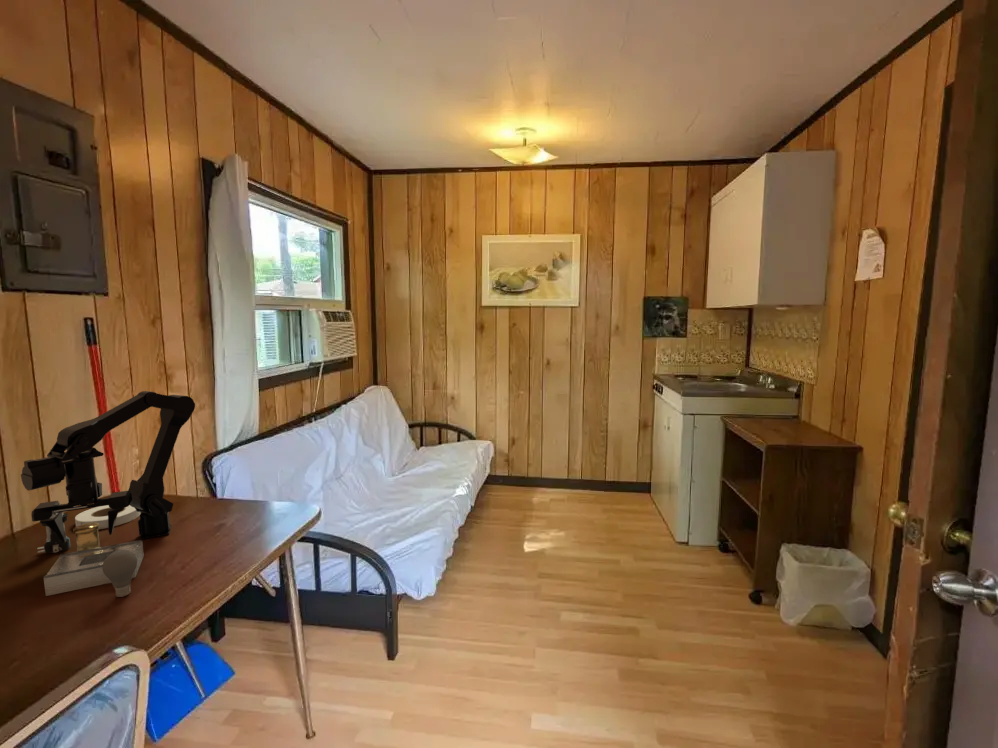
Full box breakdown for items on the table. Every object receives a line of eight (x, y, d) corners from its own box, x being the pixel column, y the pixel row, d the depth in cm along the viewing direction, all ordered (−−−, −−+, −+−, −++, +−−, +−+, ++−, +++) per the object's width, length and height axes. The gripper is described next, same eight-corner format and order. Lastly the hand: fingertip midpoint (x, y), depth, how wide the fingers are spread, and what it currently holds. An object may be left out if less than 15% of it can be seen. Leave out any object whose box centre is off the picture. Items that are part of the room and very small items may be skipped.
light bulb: (135, 585, 114) (130, 542, 113) (144, 594, 111) (139, 549, 109) (102, 596, 110) (97, 552, 109) (110, 606, 106) (105, 560, 105)
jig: (143, 556, 128) (141, 539, 128) (135, 577, 118) (133, 559, 117) (62, 571, 121) (60, 554, 121) (45, 596, 110) (43, 577, 110)
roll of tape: (105, 510, 160) (104, 501, 160) (152, 510, 160) (151, 501, 159) (61, 531, 145) (60, 521, 145) (113, 531, 144) (112, 521, 144)
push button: (34, 558, 128) (29, 520, 127) (41, 549, 133) (36, 512, 132) (68, 552, 131) (63, 514, 130) (74, 544, 136) (69, 507, 135)
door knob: (104, 551, 132) (100, 521, 131) (99, 559, 127) (96, 528, 126) (79, 555, 129) (76, 525, 128) (74, 564, 125) (70, 532, 124)
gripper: (132, 463, 137) (138, 519, 139) (42, 474, 129) (50, 534, 131) (124, 475, 127) (131, 534, 129) (26, 487, 119) (35, 551, 121)
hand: (88, 538), depth 128 cm, fingers open, 9 cm apart
